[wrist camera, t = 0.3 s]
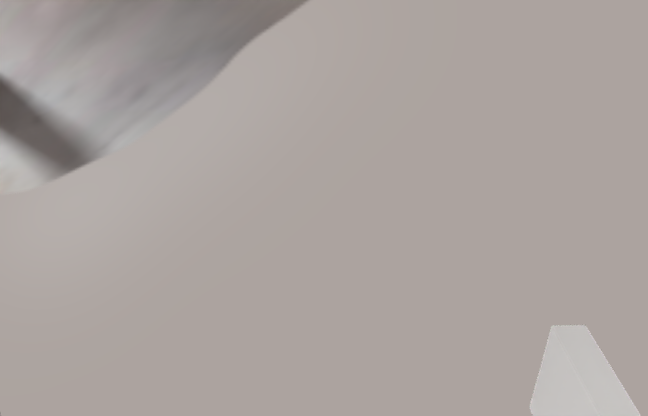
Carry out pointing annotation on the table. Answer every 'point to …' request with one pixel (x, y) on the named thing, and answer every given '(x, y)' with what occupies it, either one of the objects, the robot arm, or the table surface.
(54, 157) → the table surface
